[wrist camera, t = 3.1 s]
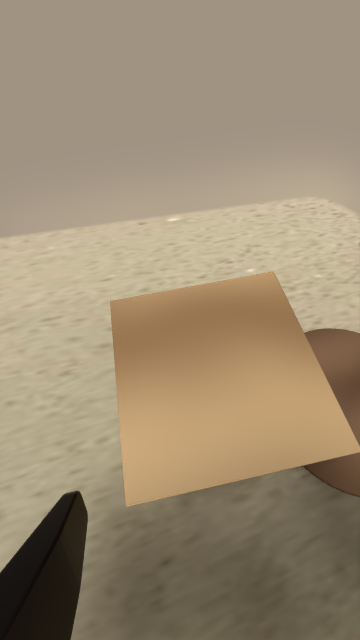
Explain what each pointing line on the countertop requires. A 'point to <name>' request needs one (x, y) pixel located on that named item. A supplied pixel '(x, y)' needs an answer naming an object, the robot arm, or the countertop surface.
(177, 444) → the oak block
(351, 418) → the coaster
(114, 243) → the countertop surface
